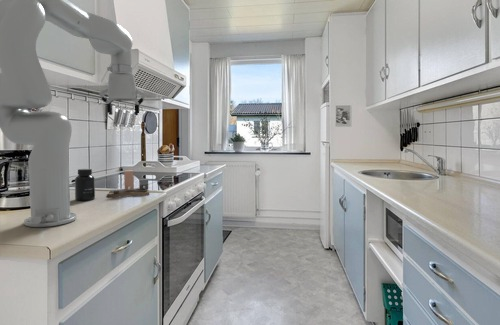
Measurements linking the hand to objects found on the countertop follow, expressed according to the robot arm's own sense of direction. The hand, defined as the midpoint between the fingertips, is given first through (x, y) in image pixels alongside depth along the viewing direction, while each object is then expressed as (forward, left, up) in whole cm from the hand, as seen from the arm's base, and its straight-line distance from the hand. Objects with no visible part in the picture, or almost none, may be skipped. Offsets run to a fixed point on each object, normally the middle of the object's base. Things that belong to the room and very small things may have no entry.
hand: (123, 114), depth 119 cm
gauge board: (+8, -1, -34) cm, 34 cm away
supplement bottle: (+1, +15, -34) cm, 37 cm away
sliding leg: (+6, -1, -31) cm, 32 cm away
